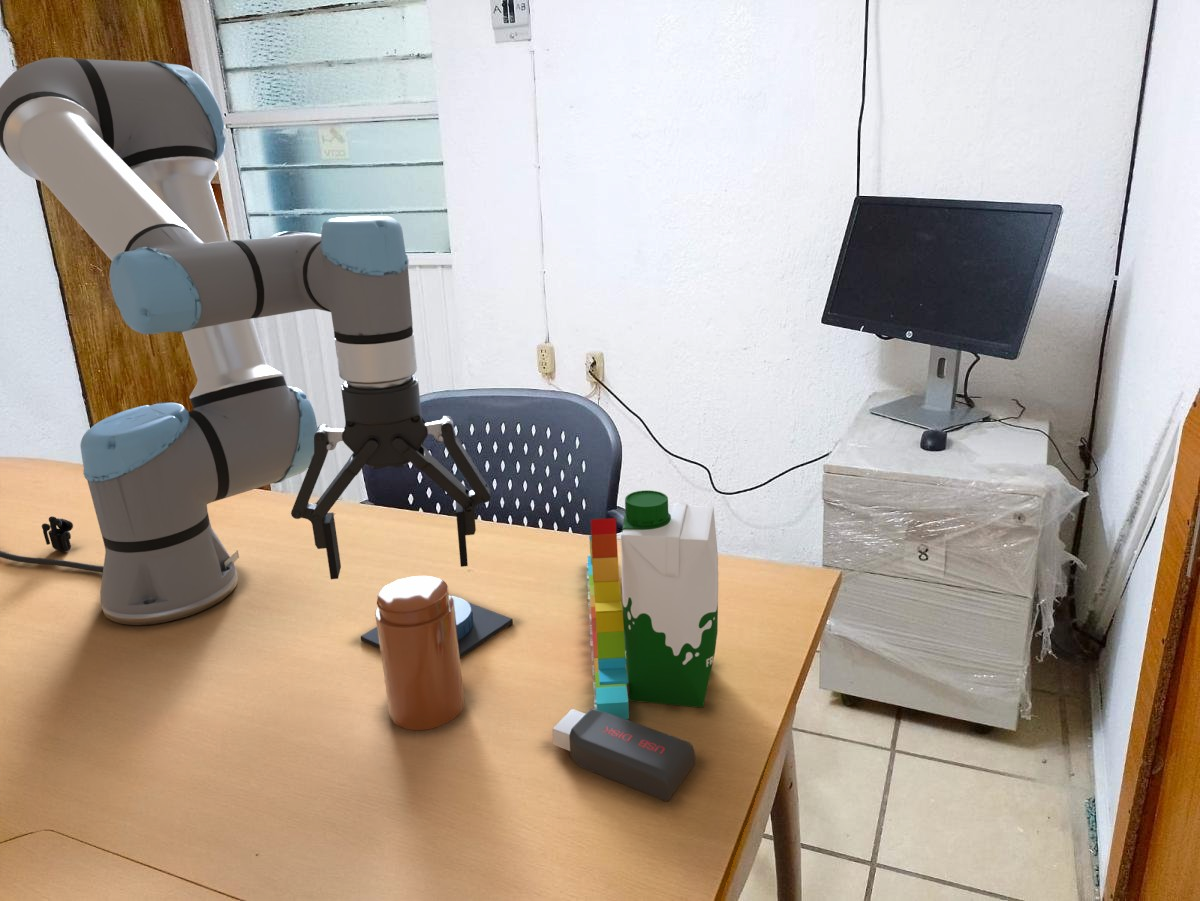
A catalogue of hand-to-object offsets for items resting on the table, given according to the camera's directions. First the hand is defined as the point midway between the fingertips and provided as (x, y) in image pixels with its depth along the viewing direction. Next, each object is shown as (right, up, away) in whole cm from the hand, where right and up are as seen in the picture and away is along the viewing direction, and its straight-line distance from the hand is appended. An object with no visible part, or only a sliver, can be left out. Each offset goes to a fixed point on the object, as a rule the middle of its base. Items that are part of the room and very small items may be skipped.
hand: (400, 567), depth 90 cm
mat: (+3, -8, +3) cm, 9 cm away
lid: (+3, -6, +3) cm, 7 cm away
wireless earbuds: (-54, -2, +28) cm, 61 cm away
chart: (+22, -8, +2) cm, 24 cm away
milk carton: (+29, -11, -7) cm, 32 cm away
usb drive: (+23, -15, -17) cm, 33 cm away
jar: (+5, -12, -9) cm, 16 cm away
